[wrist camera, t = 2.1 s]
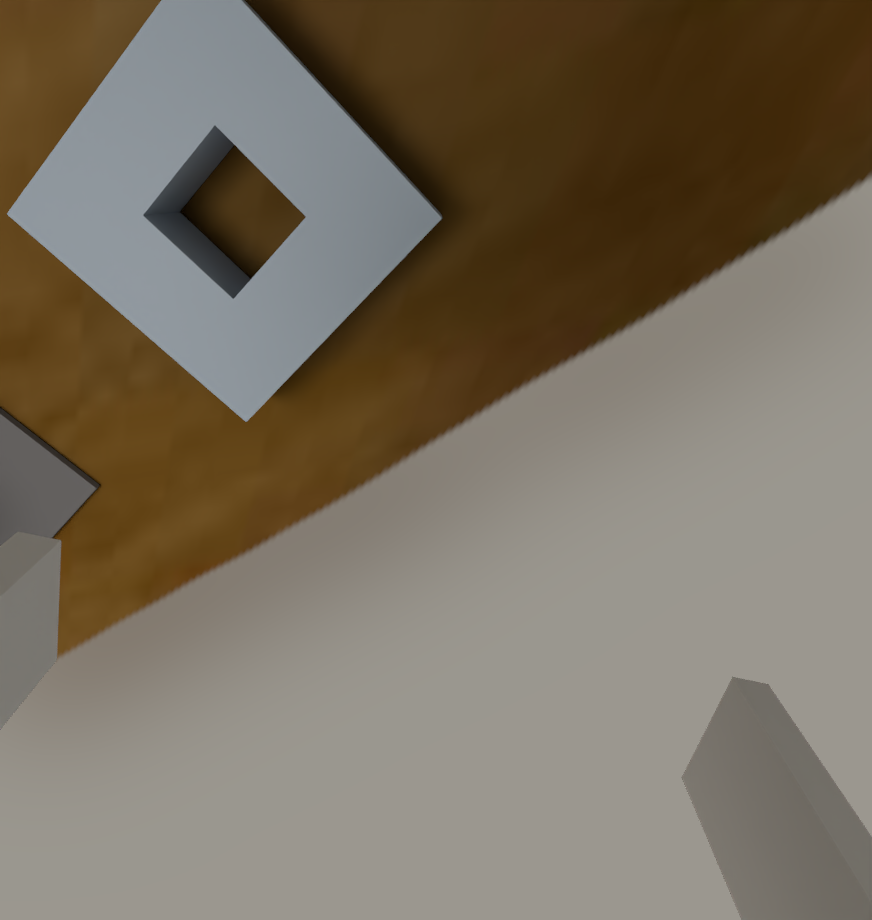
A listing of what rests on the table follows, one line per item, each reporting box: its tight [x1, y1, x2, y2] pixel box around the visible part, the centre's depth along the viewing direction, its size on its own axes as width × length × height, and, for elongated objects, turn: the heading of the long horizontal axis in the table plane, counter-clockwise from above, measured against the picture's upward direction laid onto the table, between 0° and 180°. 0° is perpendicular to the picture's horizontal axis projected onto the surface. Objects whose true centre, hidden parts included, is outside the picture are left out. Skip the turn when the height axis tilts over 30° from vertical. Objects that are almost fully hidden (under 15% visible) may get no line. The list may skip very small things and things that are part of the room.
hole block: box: [7, 0, 442, 422], centre depth 28 cm, size 12×12×4 cm
